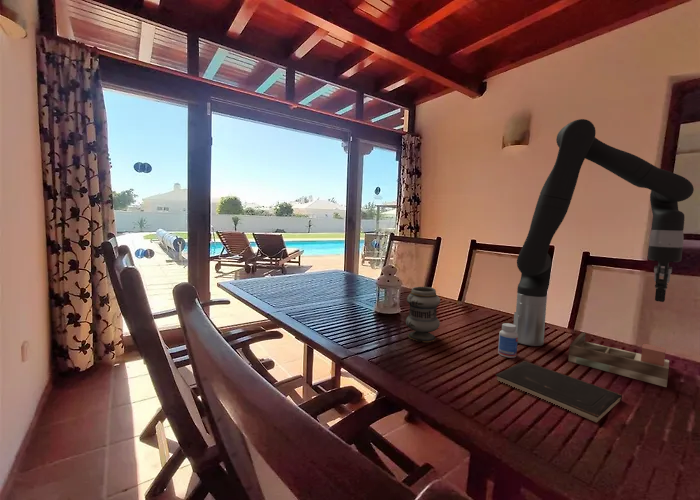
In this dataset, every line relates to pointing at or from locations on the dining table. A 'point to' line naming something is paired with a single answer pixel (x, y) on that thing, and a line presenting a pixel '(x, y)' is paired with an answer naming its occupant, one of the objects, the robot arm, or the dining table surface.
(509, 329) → the pill bottle
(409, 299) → the apothecary jar
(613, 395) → the hardcover book
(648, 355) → the brown block
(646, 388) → the dining table surface
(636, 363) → the trap tray
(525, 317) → the robot arm
